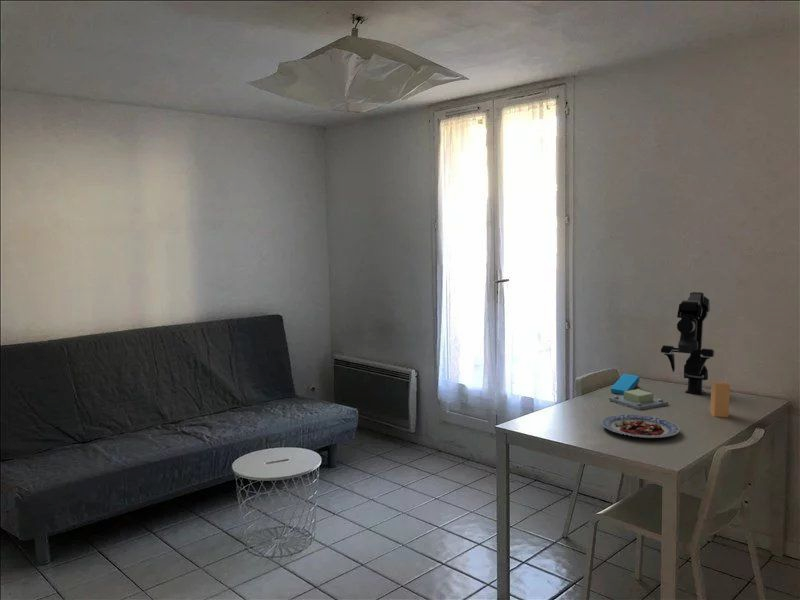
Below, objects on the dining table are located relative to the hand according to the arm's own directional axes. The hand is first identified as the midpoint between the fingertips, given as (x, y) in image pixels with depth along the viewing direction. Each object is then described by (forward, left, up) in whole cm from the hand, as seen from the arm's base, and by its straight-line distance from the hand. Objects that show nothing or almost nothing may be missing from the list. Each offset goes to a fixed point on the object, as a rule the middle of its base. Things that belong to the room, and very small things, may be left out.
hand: (686, 373), depth 252 cm
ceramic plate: (+39, -6, -15) cm, 42 cm away
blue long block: (-15, -27, -15) cm, 34 cm away
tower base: (+3, -17, -14) cm, 22 cm away
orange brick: (+3, +13, -14) cm, 19 cm away
